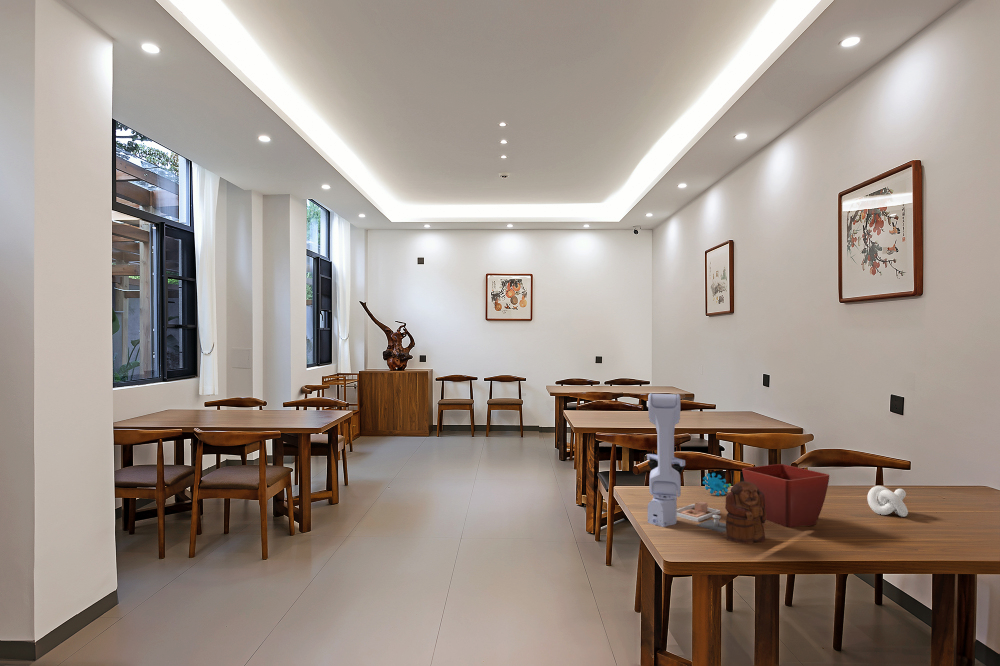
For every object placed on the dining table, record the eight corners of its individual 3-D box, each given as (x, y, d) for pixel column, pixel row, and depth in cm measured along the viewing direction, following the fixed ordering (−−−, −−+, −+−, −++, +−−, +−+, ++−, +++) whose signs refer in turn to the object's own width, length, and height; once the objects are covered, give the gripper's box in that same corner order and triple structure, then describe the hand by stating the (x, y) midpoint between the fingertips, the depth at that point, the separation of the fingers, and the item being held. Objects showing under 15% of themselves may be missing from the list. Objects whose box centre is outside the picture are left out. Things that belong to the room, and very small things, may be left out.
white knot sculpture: (920, 520, 187) (920, 493, 187) (885, 519, 187) (885, 493, 187) (896, 510, 198) (896, 484, 199) (863, 509, 198) (862, 484, 198)
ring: (696, 520, 185) (696, 509, 185) (680, 515, 189) (680, 505, 189) (712, 514, 191) (712, 503, 191) (696, 510, 196) (696, 500, 196)
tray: (697, 524, 181) (697, 518, 181) (670, 517, 189) (670, 511, 189) (720, 516, 190) (720, 510, 190) (693, 509, 198) (693, 503, 198)
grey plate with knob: (722, 535, 171) (722, 522, 171) (695, 528, 178) (695, 515, 178) (736, 529, 176) (736, 517, 176) (710, 522, 183) (710, 510, 183)
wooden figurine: (739, 549, 160) (739, 486, 160) (723, 541, 166) (723, 481, 166) (771, 544, 164) (770, 482, 164) (754, 537, 170) (753, 478, 170)
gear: (705, 492, 215) (702, 470, 222) (700, 500, 219) (697, 478, 226) (734, 496, 215) (729, 474, 222) (728, 504, 219) (724, 482, 226)
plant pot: (740, 517, 190) (740, 467, 190) (781, 511, 197) (781, 463, 197) (788, 534, 172) (788, 480, 172) (832, 527, 179) (831, 475, 179)
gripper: (690, 446, 195) (690, 485, 195) (655, 440, 206) (655, 477, 206) (678, 448, 191) (678, 488, 190) (643, 443, 202) (643, 480, 202)
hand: (665, 483), depth 198 cm, fingers open, 7 cm apart
